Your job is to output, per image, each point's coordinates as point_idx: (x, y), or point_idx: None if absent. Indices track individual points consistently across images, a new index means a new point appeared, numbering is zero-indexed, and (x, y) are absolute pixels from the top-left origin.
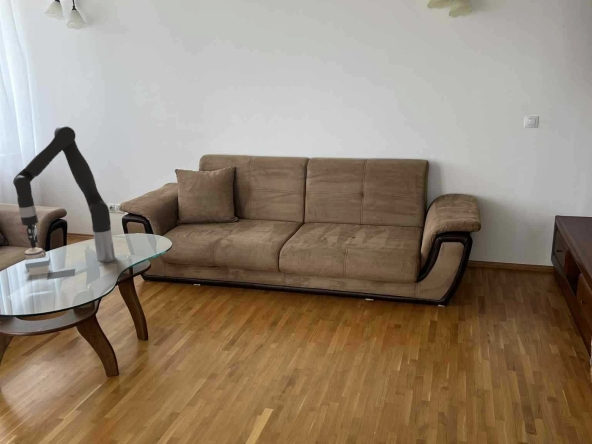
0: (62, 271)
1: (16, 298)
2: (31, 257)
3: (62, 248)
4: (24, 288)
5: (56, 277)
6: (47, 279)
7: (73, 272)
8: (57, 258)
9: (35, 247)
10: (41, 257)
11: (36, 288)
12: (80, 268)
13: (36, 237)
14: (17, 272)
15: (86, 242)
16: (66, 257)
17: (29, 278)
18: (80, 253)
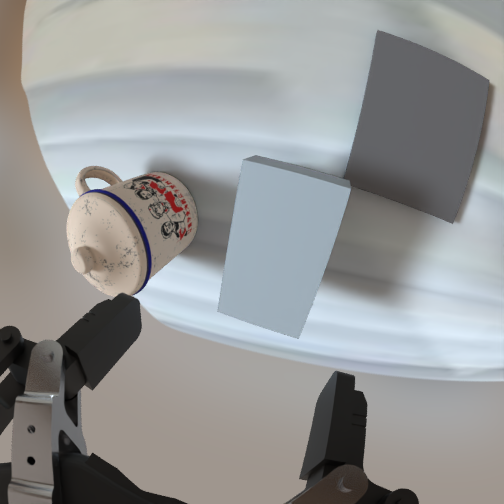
0: (379, 105)
1: (500, 355)
2: (158, 264)
3: (29, 102)
4: (443, 324)
5: (460, 169)
6: (453, 220)
7: (440, 61)
8: (103, 110)
9: (80, 241)
10: (151, 200)
11: (487, 284)
12: (350, 4)
13: (96, 341)
14: (197, 299)
15: (27, 29)
16: (112, 69)
17: (327, 281)
18: (102, 15)
